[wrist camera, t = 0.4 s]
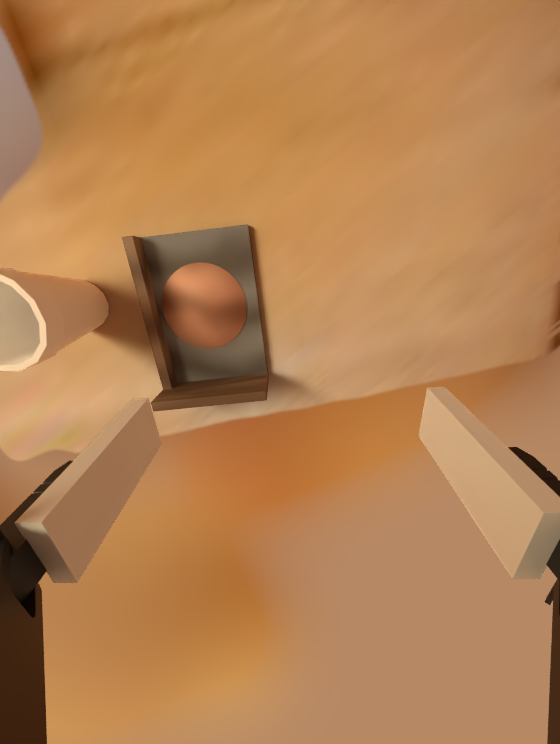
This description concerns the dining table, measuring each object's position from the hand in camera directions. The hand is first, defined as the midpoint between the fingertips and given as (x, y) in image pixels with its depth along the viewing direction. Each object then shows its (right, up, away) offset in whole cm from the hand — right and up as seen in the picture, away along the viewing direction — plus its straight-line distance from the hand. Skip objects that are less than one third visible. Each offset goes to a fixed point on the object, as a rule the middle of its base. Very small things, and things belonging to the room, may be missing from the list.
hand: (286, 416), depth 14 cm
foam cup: (-26, +11, +25) cm, 38 cm away
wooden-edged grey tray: (-10, +10, +25) cm, 29 cm away
